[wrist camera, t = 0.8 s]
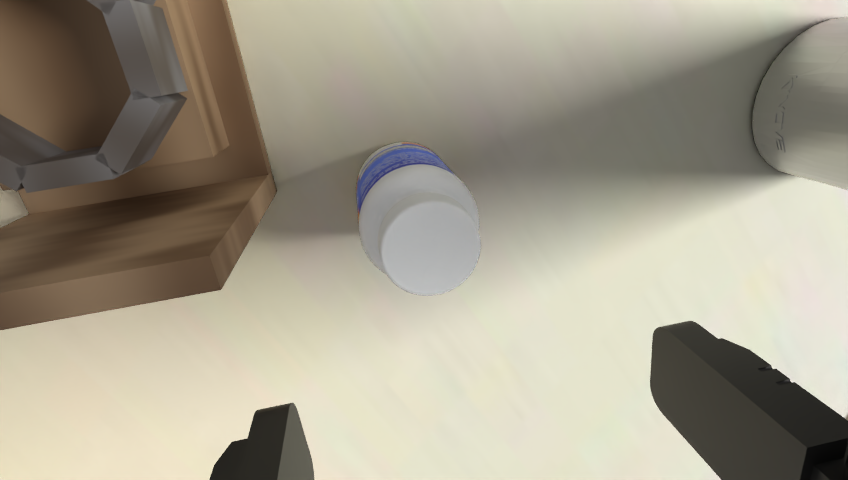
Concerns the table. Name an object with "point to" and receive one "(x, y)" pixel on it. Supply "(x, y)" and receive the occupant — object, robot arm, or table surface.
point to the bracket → (123, 154)
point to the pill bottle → (417, 219)
